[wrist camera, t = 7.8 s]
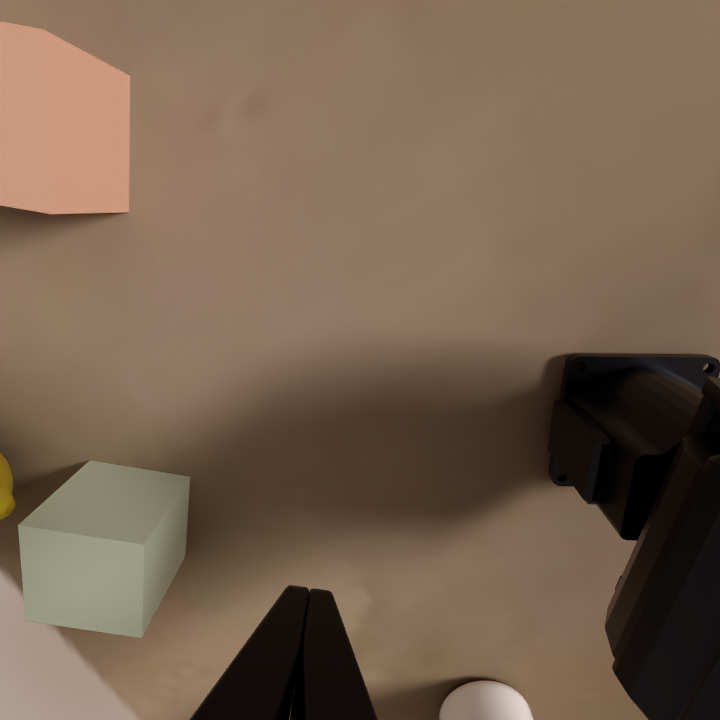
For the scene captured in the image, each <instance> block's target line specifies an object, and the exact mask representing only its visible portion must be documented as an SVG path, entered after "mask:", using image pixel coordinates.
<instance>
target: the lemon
mask: <svg viewBox="0 0 720 720" xmlns="http://www.w3.org/2000/svg"><path fill="white" fill-rule="evenodd" d="M12 490H13V475H12V472H11V469H10V466H9V463H8V462H7V460H6V459H5V457H4V456H3V455H2V454H1V452H0V520H1V519H3V518H5V517H7V516H9V515H10V514H11V513H12V512H13V510H14V508H15V505H16V503H15V500H14V498H13V495H12Z"/></svg>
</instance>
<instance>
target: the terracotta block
mask: <svg viewBox="0 0 720 720" xmlns="http://www.w3.org/2000/svg"><path fill="white" fill-rule="evenodd" d="M129 147H130V76H129V75H127V74H125V73H123V72H122V71H120V70H118V69H116V68H114V67H112V66H110V65H108V64H107V63H105V62H103V61H101V60H99V59H97V58H95V57H94V56H92V55H90V54H88V53H86V52H84V51H82V50H81V49H79V48H77V47H75V46H73V45H71V44H69V43H68V42H66V41H64V40H62V39H60V38H58V37H56V36H55V35H53V34H51V33H49V32H47V31H45V30H43V29H38V28H33V27H28V26H22V25H17V24H12V23H6V22H1V21H0V205H1V206H7V207H13V208H18V209H24V210H30V211H36V212H41V213H47V214H78V213H118V212H129Z"/></svg>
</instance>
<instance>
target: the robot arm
mask: <svg viewBox="0 0 720 720" xmlns="http://www.w3.org/2000/svg"><path fill="white" fill-rule="evenodd" d="M578 362H582V366H581V368H579V369H577V370H575V369H574V367H575V364H577V363H578ZM707 363H708V367H707V369H705V370H704V371H703V367H704V365H706V364H707ZM719 372H720V362H719V360H717V359H716V358H714V357H711V356H709V355H681V354H573V355H572V356H570V357H569V358H568V359H567V360H566V363H565V368H564V375H563V381H562V388H561V394H560V398H559V399H558V400H557V401H556V402H555V403H554V410H553V416H552V423H551V430H550V437H549V444H548V451H549V452H550V454H551V461H550V468H549V476H550V478H551V480H552V481H553V483H554V484H556V485H557V486H574V487H575V489H576V490H577V491H578V493H579V494H580V496H581V497H582V498H583V499H584V500H585V501H586V502H587V503H588V504H597V506H598V507H599V508H600V510H601V511H602V512H603V514H604V515H605V516H606V518H607V519H608V520H609V522H610V523H611V524H612V526H613V527H614V528H615V530H616V531H617V532H618V534H619V535H620V536H621V537H622V538H623V539H625V540H638V541H637V543H636V545H635V547H634V550H633V552H632V554H631V556H630V559H629V561H628V563H627V565H626V568H625V570H624V572H623V575H621V576H620V578H619V580H618V582H617V584H616V587H615V593H614V595H613V597H612V599H611V602H610V604H609V606H608V609H607V616H606V622H605V630H606V633H607V637H608V640H609V644H610V647H611V651H612V654H613V656H614V658H615V660H614V662H613V665H612V668H613V671H614V673H615V675H616V677H617V678H618V680H619V681H620V683H621V684H622V686H623V688H624V689H625V691H626V692H627V694H628V695H629V697H630V698H631V699H632V701H633V702H634V703H635V704H636V705H637V707H638V708H639V709H640V710H641V711H642V713H643V714H644V715H645V716H646V717H647V718H648V720H720V378H718V376H719ZM562 472H564V475H563V476H561V477H557V476H558V474H560V473H562ZM308 596H309V597H308ZM294 686H295V687H294ZM293 692H294V693H293ZM292 699H293V700H292ZM291 705H292V706H291ZM290 711H291V714H290ZM289 716H290V720H378V719H377V716H376V713H375V711H374V708H373V705H372V702H371V699H370V697H369V694H368V691H367V688H366V686H365V683H364V680H363V677H362V674H361V672H360V669H359V666H358V663H357V661H356V658H355V655H354V652H353V649H352V647H351V644H350V641H349V638H348V636H347V633H346V630H345V627H344V624H343V622H342V619H341V616H340V613H339V610H338V608H337V605H336V602H335V599H334V597H333V594H332V593H331V592H330V591H328V590H321V589H314V588H313V589H311V590H310V592H309V589H308V588H306V587H300V586H293V585H290V586H288V587H287V588H286V589H285V590H284V591H283V593H282V594H281V595H280V597H279V598H278V600H277V601H276V602H275V604H274V605H273V606H272V608H271V609H270V610H269V612H268V613H267V615H266V616H265V617H264V619H263V620H262V621H261V623H260V624H259V625H258V627H257V628H256V630H255V631H254V632H253V634H252V635H251V636H250V638H249V639H248V640H247V642H246V643H245V645H244V646H243V647H242V649H241V650H240V651H239V653H238V654H237V656H236V657H235V658H234V660H233V661H232V662H231V664H230V665H229V666H228V668H227V669H226V671H225V672H224V673H223V675H222V676H221V677H220V679H219V680H218V681H217V683H216V684H215V686H214V687H213V688H212V690H211V691H210V692H209V694H208V695H207V697H206V698H205V699H204V701H203V702H202V703H201V705H200V706H199V707H198V709H197V710H196V712H195V713H194V714H193V716H192V717H191V718H190V720H289Z"/></svg>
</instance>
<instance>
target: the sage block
mask: <svg viewBox="0 0 720 720" xmlns="http://www.w3.org/2000/svg"><path fill="white" fill-rule="evenodd" d="M189 489H190V476H184V475H178V474H172V473H166V472H159V471H153V470H147V469H141V468H134V467H128V466H122V465H115V464H109V463H103V462H97V461H89V462H87V463H86V464H85V465H84V466H83V467H82V468H81V469H80V470H79V471H77V472H76V473H75V474H74V475H73V476H72V477H71V478H70V479H69V480H68V481H66V482H65V483H64V484H63V485H62V486H61V487H60V488H59V489H58V490H56V491H55V492H54V493H53V494H52V495H51V496H50V497H49V498H48V499H46V500H45V501H44V502H43V503H42V504H41V505H40V506H39V507H38V508H36V509H35V510H34V511H33V512H32V513H31V514H30V515H29V516H28V517H26V518H25V519H24V520H23V521H22V522H21V523H20V524H19V525H18V532H19V545H20V557H21V570H22V583H23V595H24V608H25V619H26V621H31V622H37V623H43V624H50V625H57V626H64V627H70V628H77V629H84V630H90V631H97V632H104V633H110V634H117V635H124V636H130V637H137V638H142V637H143V635H144V633H145V631H146V629H147V628H148V626H149V624H150V622H151V620H152V618H153V616H154V614H155V613H156V611H157V609H158V607H159V605H160V603H161V601H162V599H163V598H164V596H165V594H166V592H167V590H168V588H169V586H170V584H171V583H172V581H173V579H174V577H175V575H176V573H177V571H178V569H179V568H180V566H181V564H182V562H183V560H184V558H185V554H186V538H187V521H188V505H189Z"/></svg>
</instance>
